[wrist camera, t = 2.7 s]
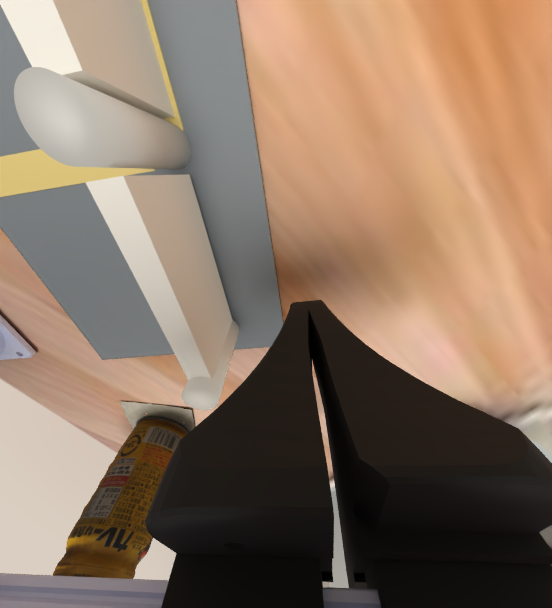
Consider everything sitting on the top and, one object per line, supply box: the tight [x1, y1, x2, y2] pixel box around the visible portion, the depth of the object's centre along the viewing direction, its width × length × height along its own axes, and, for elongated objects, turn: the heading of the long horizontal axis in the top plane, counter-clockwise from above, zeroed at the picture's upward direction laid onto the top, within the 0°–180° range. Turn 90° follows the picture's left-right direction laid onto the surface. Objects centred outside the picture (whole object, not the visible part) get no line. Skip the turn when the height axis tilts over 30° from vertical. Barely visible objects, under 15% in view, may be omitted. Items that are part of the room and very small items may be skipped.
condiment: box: [53, 401, 195, 579], centre depth 19 cm, size 7×8×12 cm
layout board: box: [0, 0, 284, 360], centre depth 11 cm, size 16×24×1 cm, turn 8°
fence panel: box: [85, 174, 239, 410], centre depth 11 cm, size 10×2×6 cm, turn 8°
